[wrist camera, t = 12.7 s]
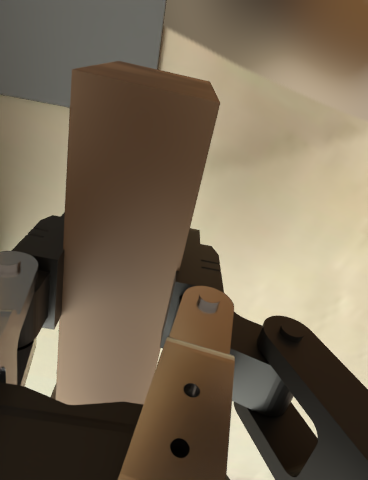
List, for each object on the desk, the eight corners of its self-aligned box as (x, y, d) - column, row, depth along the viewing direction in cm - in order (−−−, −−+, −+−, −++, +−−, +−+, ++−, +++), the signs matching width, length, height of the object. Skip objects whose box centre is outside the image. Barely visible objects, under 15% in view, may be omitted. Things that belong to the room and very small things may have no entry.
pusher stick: (55, 398, 19) (14, 501, 15) (72, 49, 11) (-6, 51, 7) (162, 414, 20) (154, 519, 15) (254, 91, 12) (290, 118, 7)
